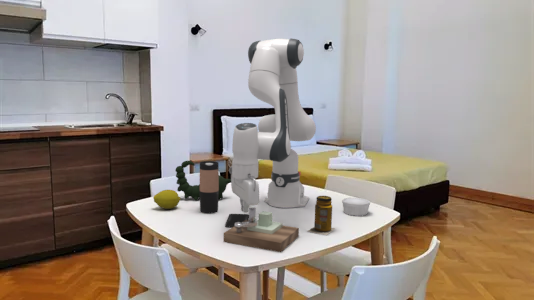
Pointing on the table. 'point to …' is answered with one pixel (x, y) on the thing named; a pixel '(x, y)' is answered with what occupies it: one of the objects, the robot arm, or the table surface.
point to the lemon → (167, 199)
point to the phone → (235, 219)
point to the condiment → (323, 216)
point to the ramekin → (355, 206)
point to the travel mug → (209, 186)
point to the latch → (251, 220)
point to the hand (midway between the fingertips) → (244, 211)
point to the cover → (266, 224)
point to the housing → (262, 238)
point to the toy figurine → (195, 190)
